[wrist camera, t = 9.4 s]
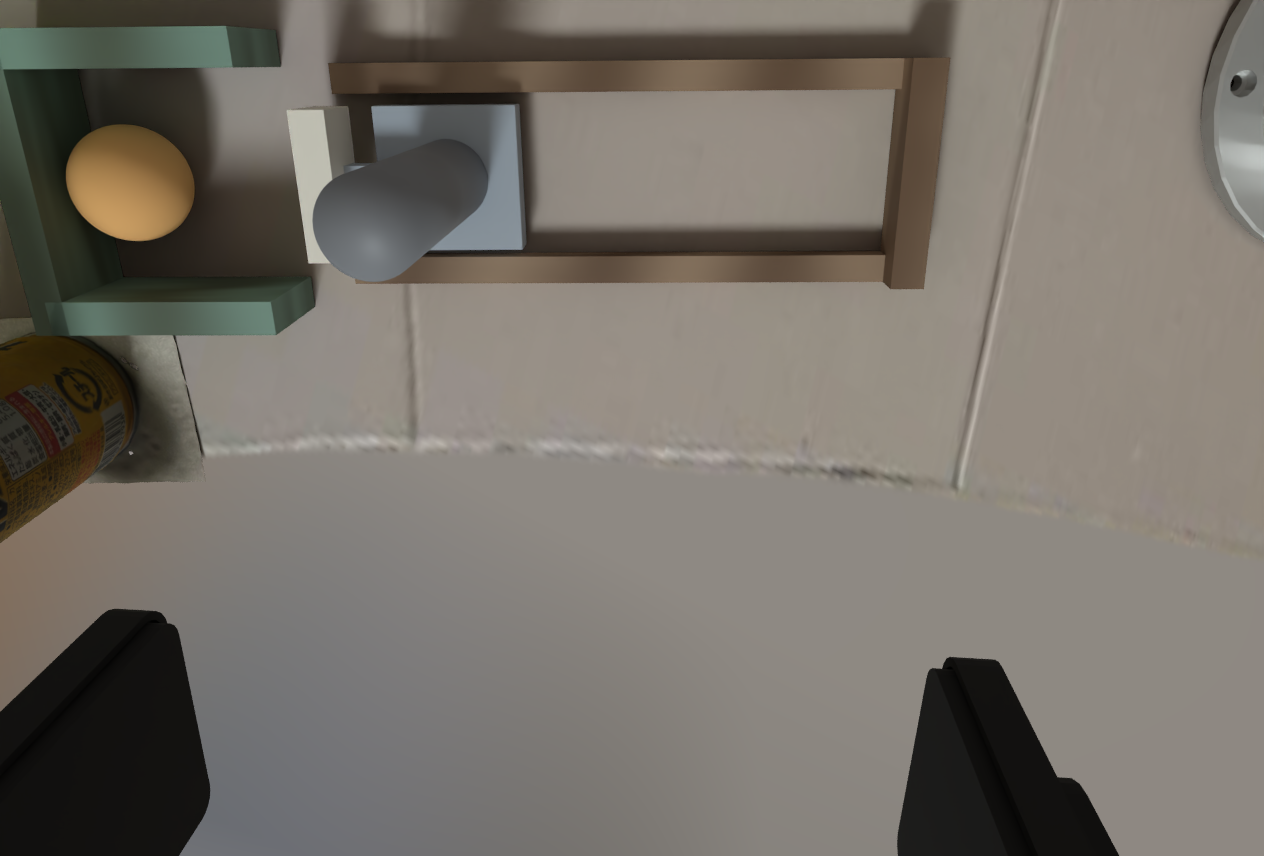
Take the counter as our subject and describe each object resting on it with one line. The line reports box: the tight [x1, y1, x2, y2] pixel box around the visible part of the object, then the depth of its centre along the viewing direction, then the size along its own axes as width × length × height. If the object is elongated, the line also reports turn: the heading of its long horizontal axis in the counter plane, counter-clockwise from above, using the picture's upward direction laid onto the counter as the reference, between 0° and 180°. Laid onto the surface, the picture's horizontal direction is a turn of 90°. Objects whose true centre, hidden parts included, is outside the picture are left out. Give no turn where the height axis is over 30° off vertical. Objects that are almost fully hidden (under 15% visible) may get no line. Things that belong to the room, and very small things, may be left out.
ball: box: [66, 124, 195, 241], centre depth 32 cm, size 4×4×4 cm
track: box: [328, 58, 950, 289], centre depth 33 cm, size 21×8×2 cm, turn 91°
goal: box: [0, 26, 315, 336], centre depth 32 cm, size 9×10×4 cm
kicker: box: [287, 104, 527, 282], centre depth 28 cm, size 7×5×11 cm
